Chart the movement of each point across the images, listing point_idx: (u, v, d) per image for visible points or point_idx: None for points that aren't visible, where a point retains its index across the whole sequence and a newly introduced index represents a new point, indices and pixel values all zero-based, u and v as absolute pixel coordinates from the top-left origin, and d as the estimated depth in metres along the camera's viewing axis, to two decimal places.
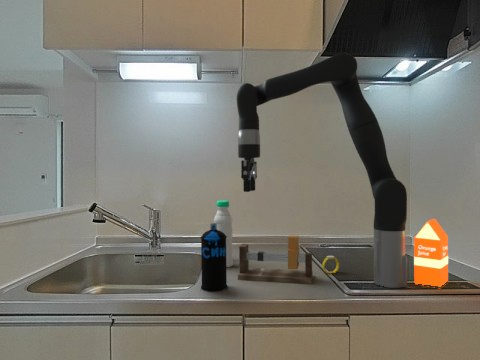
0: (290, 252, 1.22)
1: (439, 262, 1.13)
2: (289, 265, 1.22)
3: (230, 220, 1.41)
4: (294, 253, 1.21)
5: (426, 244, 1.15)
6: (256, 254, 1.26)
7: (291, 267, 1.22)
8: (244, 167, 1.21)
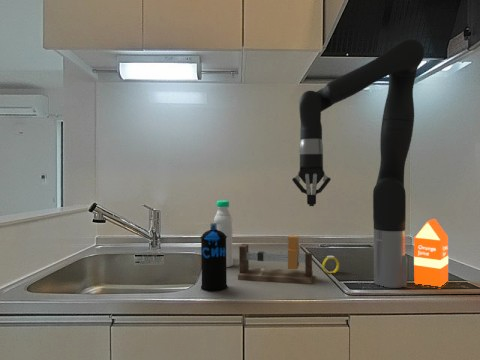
0: (290, 252, 1.22)
1: (439, 262, 1.13)
2: (289, 265, 1.22)
3: (230, 220, 1.41)
4: (294, 253, 1.21)
5: (426, 244, 1.15)
6: (256, 254, 1.26)
7: (291, 267, 1.22)
8: (326, 184, 1.22)
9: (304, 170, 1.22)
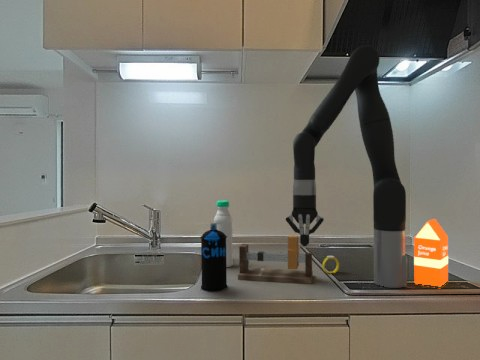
0: (290, 252, 1.22)
1: (439, 262, 1.13)
2: (289, 265, 1.22)
3: (230, 220, 1.41)
4: (294, 253, 1.21)
5: (426, 244, 1.15)
6: (256, 254, 1.26)
7: (291, 267, 1.22)
8: None
9: (297, 210, 1.23)
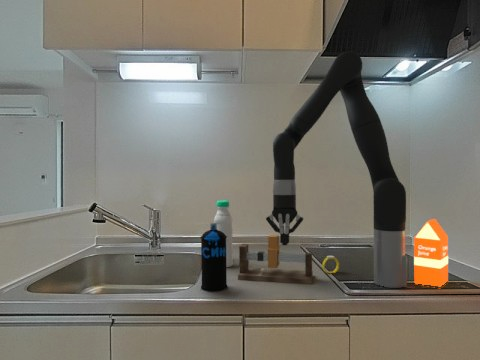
0: (270, 251, 1.23)
1: (439, 262, 1.13)
2: (269, 264, 1.24)
3: (230, 220, 1.41)
4: (274, 252, 1.23)
5: (426, 244, 1.15)
6: (256, 254, 1.26)
7: (271, 266, 1.23)
8: None
9: (277, 210, 1.25)
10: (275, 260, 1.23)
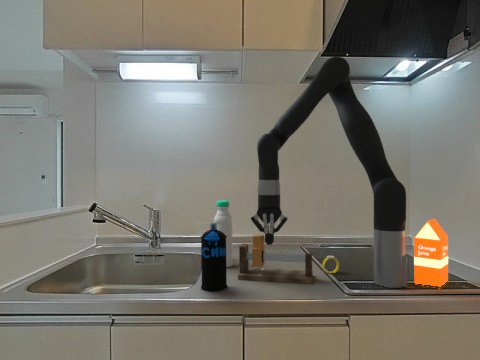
0: (254, 251, 1.25)
1: (439, 262, 1.13)
2: (253, 263, 1.25)
3: (230, 220, 1.41)
4: (258, 252, 1.24)
5: (426, 244, 1.15)
6: None
7: (255, 265, 1.25)
8: (283, 224, 1.25)
9: (262, 210, 1.26)
10: (259, 259, 1.24)
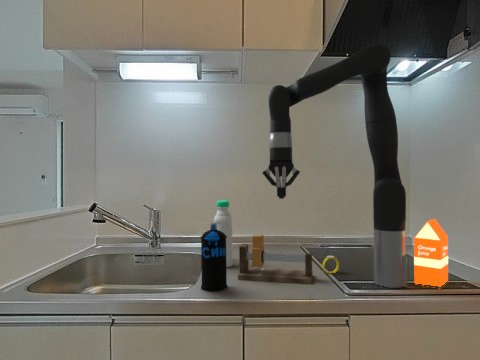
0: (254, 251, 1.25)
1: (439, 262, 1.13)
2: (253, 263, 1.25)
3: (230, 220, 1.41)
4: (258, 252, 1.24)
5: (426, 244, 1.15)
6: None
7: (255, 265, 1.25)
8: (295, 177, 1.24)
9: (274, 163, 1.25)
10: (259, 259, 1.24)
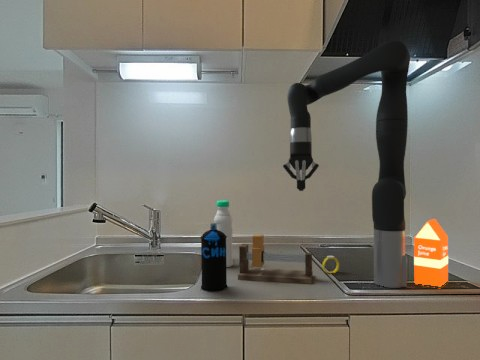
0: (254, 251, 1.25)
1: (439, 262, 1.13)
2: (253, 263, 1.25)
3: (230, 220, 1.41)
4: (258, 252, 1.24)
5: (426, 244, 1.15)
6: None
7: (255, 265, 1.25)
8: (314, 170, 1.30)
9: (294, 157, 1.31)
10: (259, 259, 1.24)
